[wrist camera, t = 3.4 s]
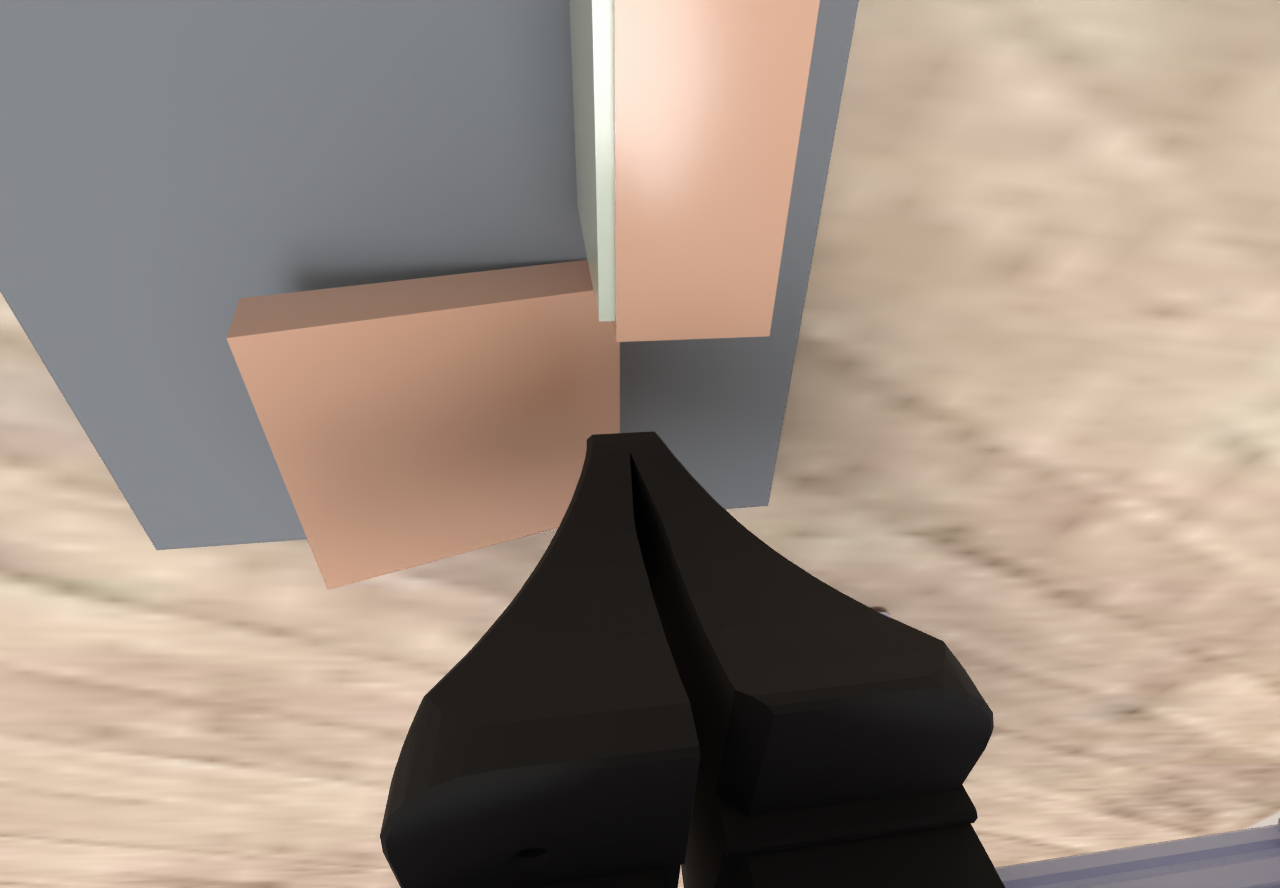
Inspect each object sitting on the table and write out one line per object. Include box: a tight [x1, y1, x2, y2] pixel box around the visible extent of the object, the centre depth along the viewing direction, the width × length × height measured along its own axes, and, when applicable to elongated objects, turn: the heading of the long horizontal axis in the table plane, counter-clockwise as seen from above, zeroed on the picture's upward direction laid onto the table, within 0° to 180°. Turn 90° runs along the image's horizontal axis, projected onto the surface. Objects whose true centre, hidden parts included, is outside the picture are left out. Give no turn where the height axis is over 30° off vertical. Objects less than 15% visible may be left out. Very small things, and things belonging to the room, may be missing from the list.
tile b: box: [569, 0, 820, 342], centre depth 9 cm, size 2×6×7 cm, turn 179°
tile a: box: [226, 260, 620, 590], centre depth 13 cm, size 2×6×7 cm
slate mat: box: [0, 0, 859, 550], centre depth 13 cm, size 17×18×1 cm
